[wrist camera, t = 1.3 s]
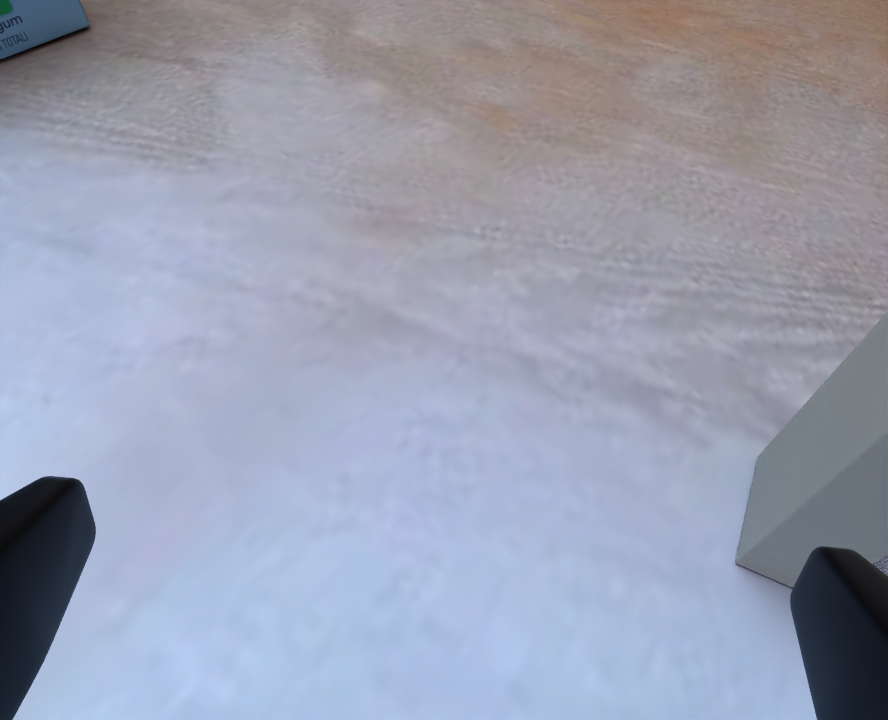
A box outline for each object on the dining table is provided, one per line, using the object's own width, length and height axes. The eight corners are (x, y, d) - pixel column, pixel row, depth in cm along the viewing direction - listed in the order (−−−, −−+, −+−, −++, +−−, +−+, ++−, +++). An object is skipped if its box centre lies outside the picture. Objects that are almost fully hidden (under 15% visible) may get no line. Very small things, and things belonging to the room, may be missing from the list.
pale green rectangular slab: (832, 485, 27) (1101, 256, 16) (817, 599, 24) (1126, 413, 14) (757, 455, 28) (970, 217, 17) (734, 563, 25) (968, 360, 14)
